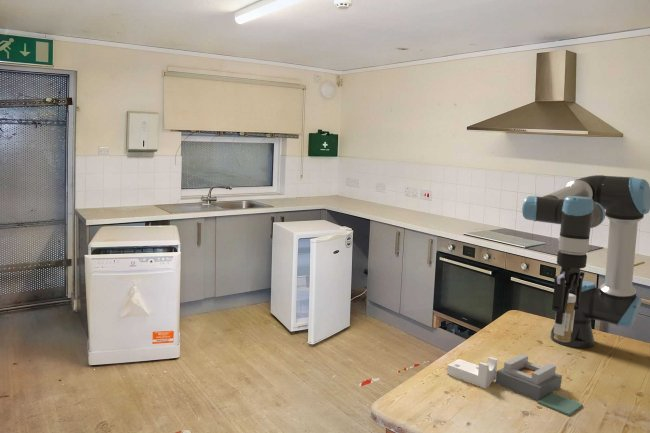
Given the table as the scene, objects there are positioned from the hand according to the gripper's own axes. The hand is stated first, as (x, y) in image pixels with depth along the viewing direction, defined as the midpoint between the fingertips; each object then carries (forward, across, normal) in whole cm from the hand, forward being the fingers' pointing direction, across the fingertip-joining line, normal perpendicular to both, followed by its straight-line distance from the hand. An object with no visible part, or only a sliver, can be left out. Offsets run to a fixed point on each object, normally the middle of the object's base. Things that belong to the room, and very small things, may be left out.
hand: (563, 332), depth 154 cm
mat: (+21, 0, +2) cm, 21 cm away
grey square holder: (+21, -4, -10) cm, 24 cm away
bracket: (+22, +6, -24) cm, 33 cm away
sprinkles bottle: (+2, 0, 0) cm, 2 cm away
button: (+20, -4, -10) cm, 23 cm away
